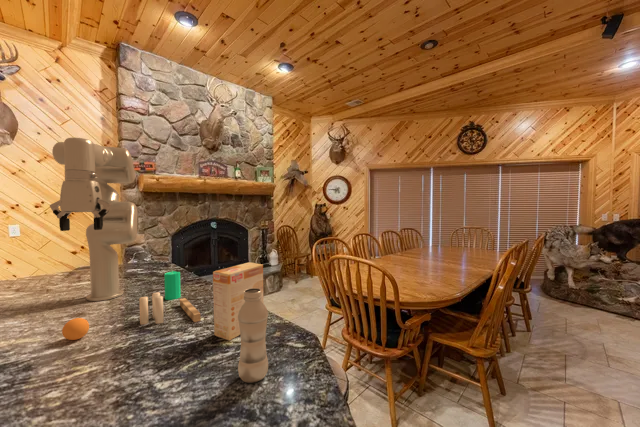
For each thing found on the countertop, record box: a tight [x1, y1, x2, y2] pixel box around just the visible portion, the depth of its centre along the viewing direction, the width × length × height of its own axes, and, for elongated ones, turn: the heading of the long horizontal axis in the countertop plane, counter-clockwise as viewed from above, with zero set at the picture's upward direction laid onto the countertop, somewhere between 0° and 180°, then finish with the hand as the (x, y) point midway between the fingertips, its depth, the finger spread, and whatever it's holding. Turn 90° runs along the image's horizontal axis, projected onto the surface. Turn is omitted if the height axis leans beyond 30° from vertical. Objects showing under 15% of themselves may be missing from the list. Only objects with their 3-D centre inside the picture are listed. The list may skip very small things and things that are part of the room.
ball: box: [61, 317, 90, 341], centre depth 82 cm, size 6×6×6 cm
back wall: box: [179, 297, 201, 323], centre depth 102 cm, size 20×2×2 cm, turn 39°
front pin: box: [138, 296, 150, 325], centre depth 93 cm, size 2×2×8 cm
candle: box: [163, 270, 182, 301], centre depth 118 cm, size 6×6×12 cm
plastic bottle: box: [237, 288, 269, 384], centre depth 63 cm, size 6×7×20 cm
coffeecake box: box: [212, 262, 265, 341], centre depth 88 cm, size 15×7×20 cm, turn 149°
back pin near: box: [154, 295, 165, 325], centre depth 93 cm, size 2×2×8 cm
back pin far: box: [151, 291, 161, 320], centre depth 97 cm, size 2×2×8 cm
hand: (81, 230), depth 91 cm, fingers open, 9 cm apart
